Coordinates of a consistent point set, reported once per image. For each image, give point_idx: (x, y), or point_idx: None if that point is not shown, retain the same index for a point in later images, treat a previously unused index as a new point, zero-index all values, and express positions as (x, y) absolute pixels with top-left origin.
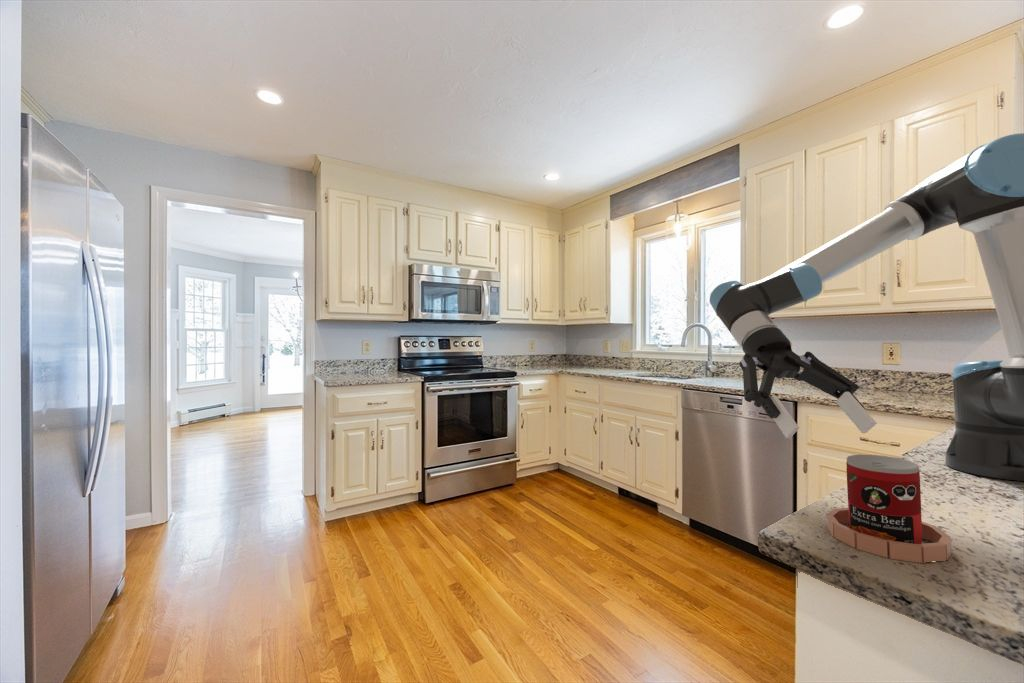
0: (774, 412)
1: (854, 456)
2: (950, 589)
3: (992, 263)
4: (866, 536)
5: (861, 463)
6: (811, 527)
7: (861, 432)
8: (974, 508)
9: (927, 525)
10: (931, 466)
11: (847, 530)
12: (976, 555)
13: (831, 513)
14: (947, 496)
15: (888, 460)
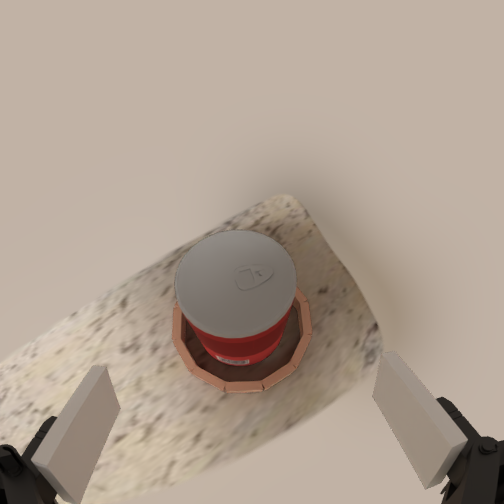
0: (445, 398)
1: (252, 324)
2: (279, 229)
3: None
4: (300, 291)
5: (271, 289)
6: (316, 374)
7: (119, 410)
8: (27, 381)
9: (180, 312)
10: None
11: (309, 311)
12: (174, 279)
13: (285, 370)
14: (14, 420)
15: (196, 297)
